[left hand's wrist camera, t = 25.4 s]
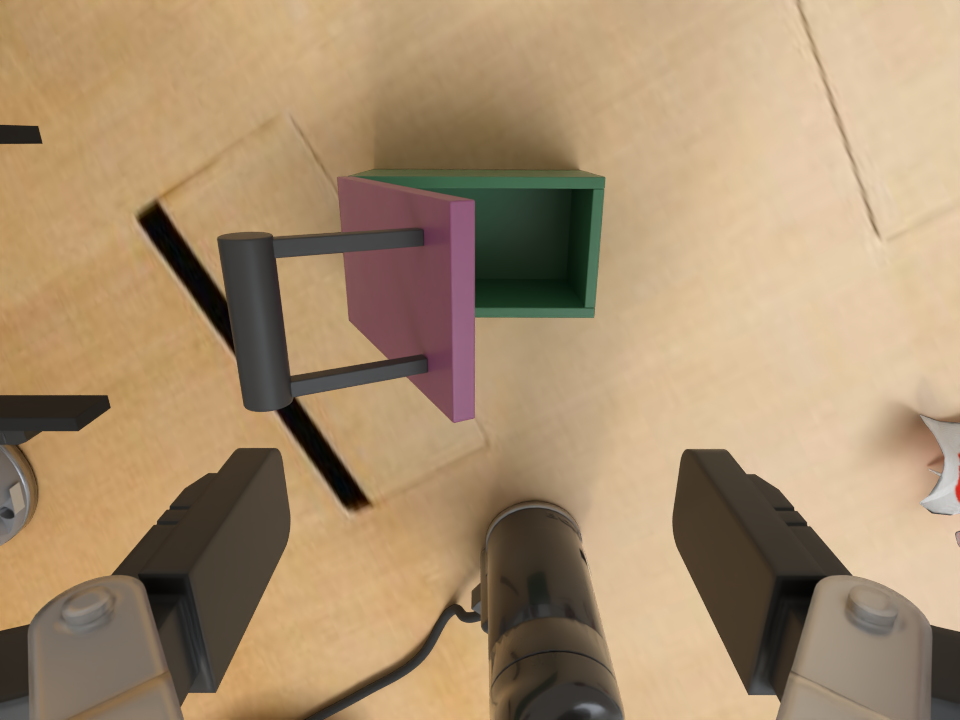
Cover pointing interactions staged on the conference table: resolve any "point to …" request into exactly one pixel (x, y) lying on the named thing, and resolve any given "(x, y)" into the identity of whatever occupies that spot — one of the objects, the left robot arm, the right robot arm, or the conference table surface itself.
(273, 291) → the lid
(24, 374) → the conference table surface
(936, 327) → the conference table surface
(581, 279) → the chest
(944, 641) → the left robot arm
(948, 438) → the fish
